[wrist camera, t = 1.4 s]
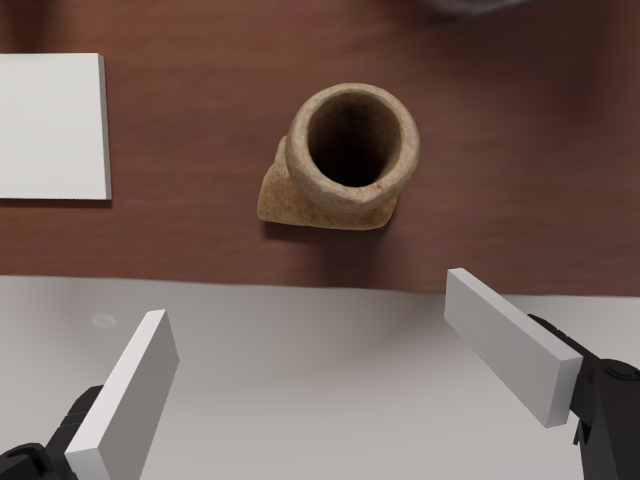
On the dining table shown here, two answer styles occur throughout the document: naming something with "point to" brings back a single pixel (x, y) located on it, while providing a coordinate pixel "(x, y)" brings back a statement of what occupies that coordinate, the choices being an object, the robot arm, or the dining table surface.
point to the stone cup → (342, 161)
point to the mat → (53, 127)
